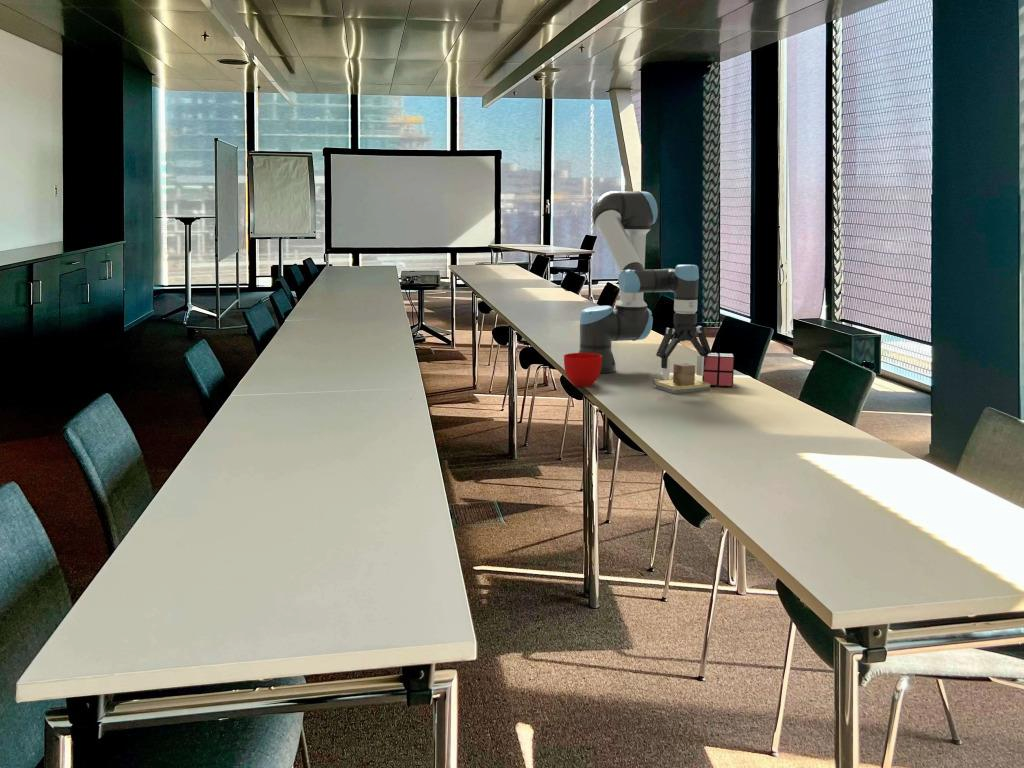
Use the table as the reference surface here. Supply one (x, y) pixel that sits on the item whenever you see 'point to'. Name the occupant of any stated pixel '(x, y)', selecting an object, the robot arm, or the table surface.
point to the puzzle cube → (719, 369)
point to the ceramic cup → (582, 368)
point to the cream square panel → (676, 386)
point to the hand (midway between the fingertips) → (683, 376)
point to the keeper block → (684, 373)
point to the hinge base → (678, 390)
